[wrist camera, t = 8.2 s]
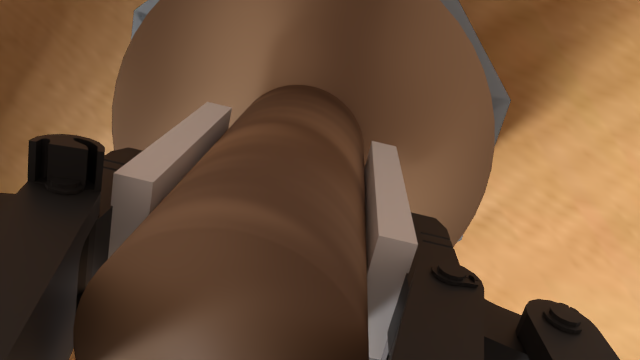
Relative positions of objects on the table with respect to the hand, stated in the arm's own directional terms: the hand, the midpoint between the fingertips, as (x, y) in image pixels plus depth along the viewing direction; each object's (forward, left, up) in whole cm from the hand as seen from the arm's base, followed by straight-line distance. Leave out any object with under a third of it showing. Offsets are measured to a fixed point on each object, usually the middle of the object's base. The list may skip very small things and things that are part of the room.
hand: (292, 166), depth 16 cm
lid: (0, 0, -3) cm, 3 cm away
